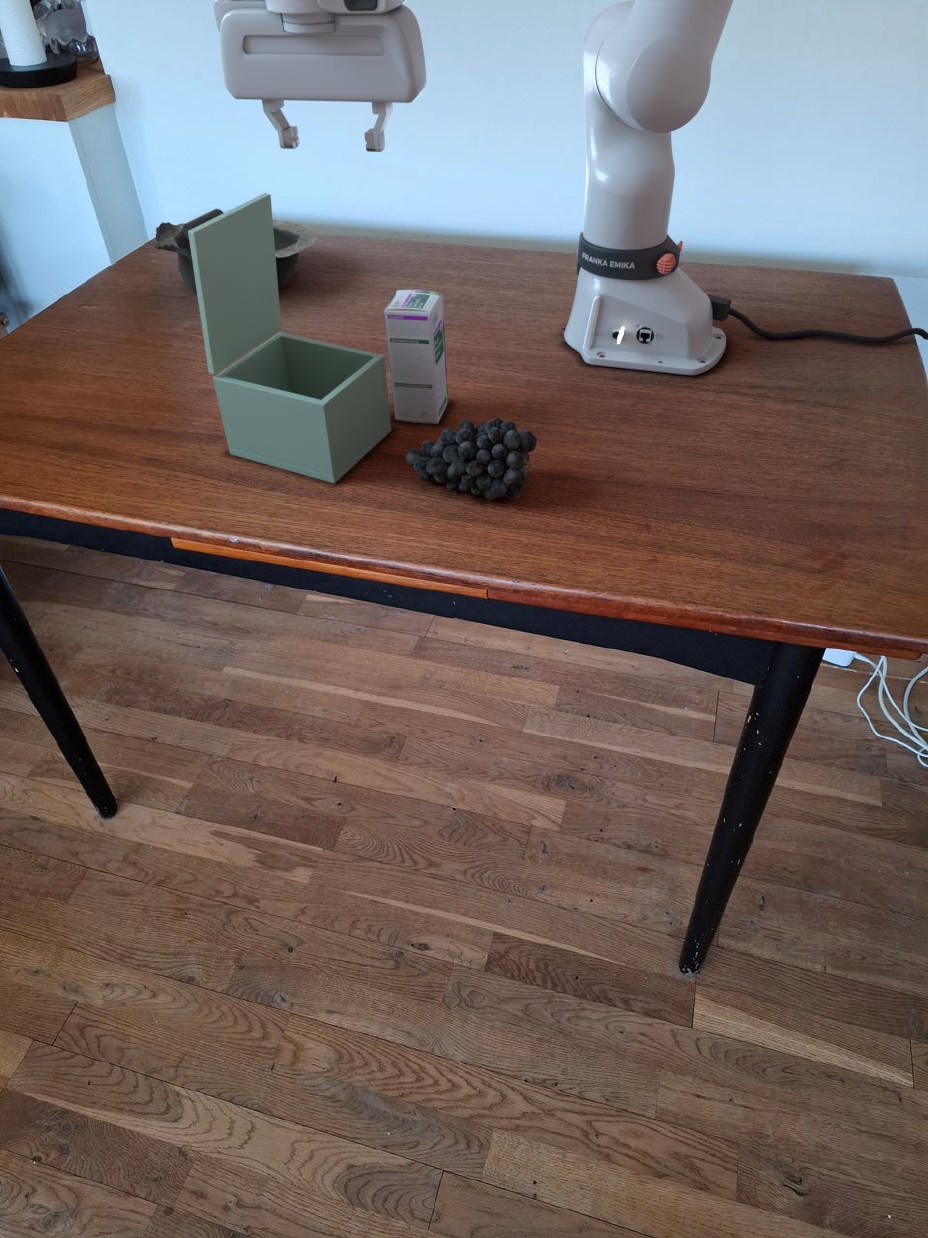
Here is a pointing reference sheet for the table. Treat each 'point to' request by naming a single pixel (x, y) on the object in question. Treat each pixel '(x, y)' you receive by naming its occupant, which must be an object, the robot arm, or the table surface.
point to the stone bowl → (285, 239)
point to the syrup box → (417, 355)
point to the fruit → (477, 458)
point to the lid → (235, 279)
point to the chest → (304, 405)
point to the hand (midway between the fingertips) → (332, 148)
